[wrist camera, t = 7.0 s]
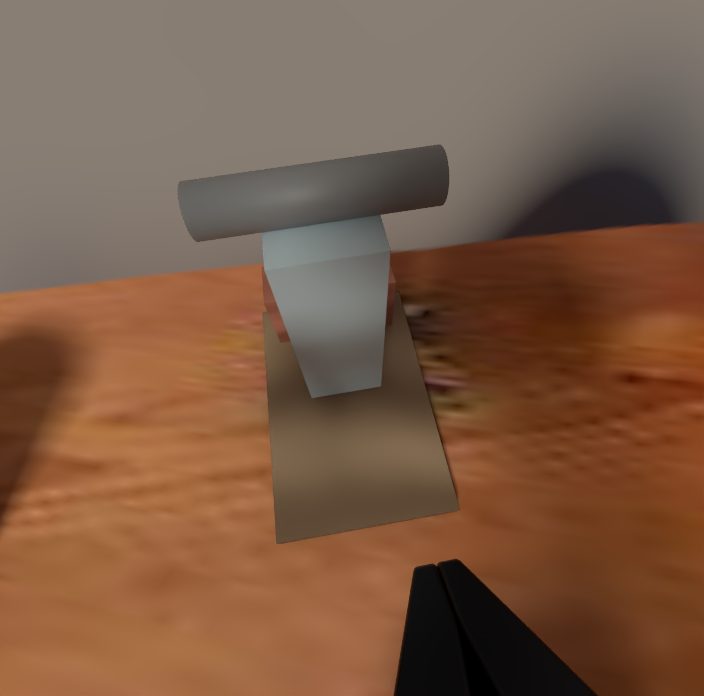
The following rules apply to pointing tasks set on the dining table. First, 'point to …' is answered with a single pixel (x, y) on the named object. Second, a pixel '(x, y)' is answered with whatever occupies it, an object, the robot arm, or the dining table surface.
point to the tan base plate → (352, 439)
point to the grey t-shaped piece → (323, 248)
